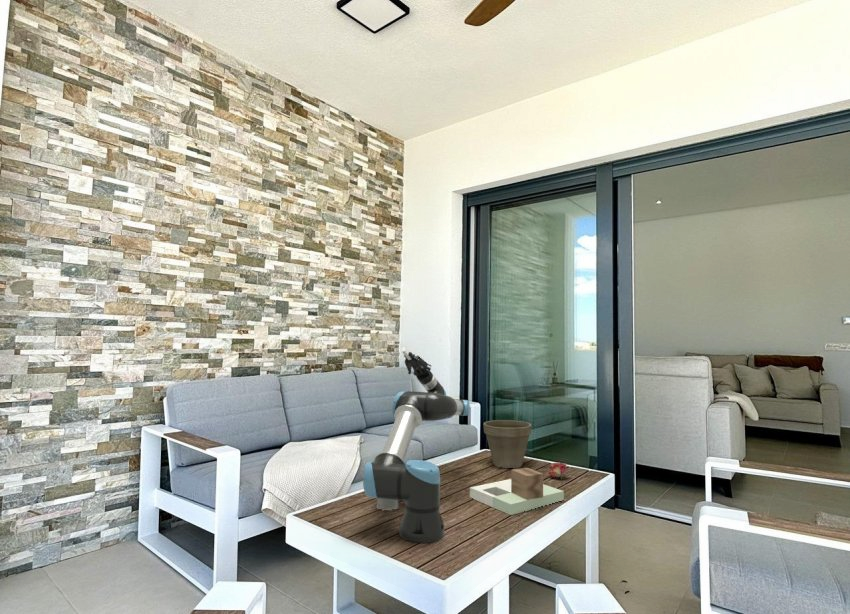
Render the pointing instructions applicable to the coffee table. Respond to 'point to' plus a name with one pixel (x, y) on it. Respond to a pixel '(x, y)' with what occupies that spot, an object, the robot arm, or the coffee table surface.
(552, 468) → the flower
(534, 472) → the walnut block
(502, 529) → the coffee table surface
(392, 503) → the glass holder
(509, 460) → the plant pot
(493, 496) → the box
